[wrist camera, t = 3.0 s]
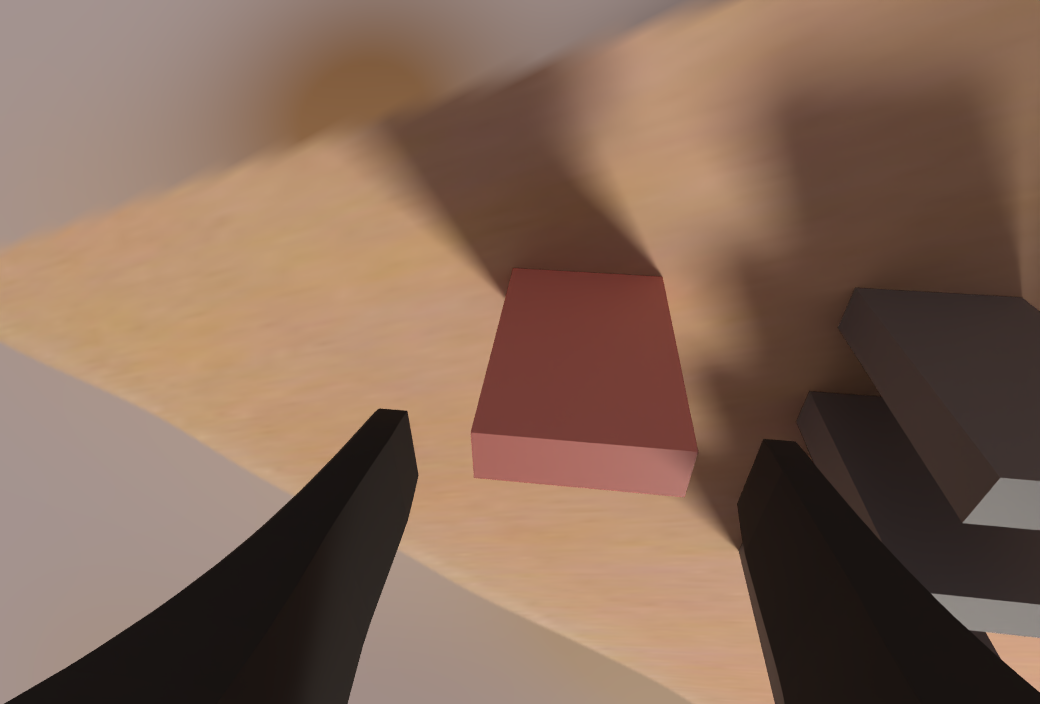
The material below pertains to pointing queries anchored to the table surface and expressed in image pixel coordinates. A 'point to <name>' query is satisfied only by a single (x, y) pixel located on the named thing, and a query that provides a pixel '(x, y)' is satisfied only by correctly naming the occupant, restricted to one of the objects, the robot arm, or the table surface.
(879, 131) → the table surface
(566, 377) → the red domino
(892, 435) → the domino
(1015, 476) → the domino
